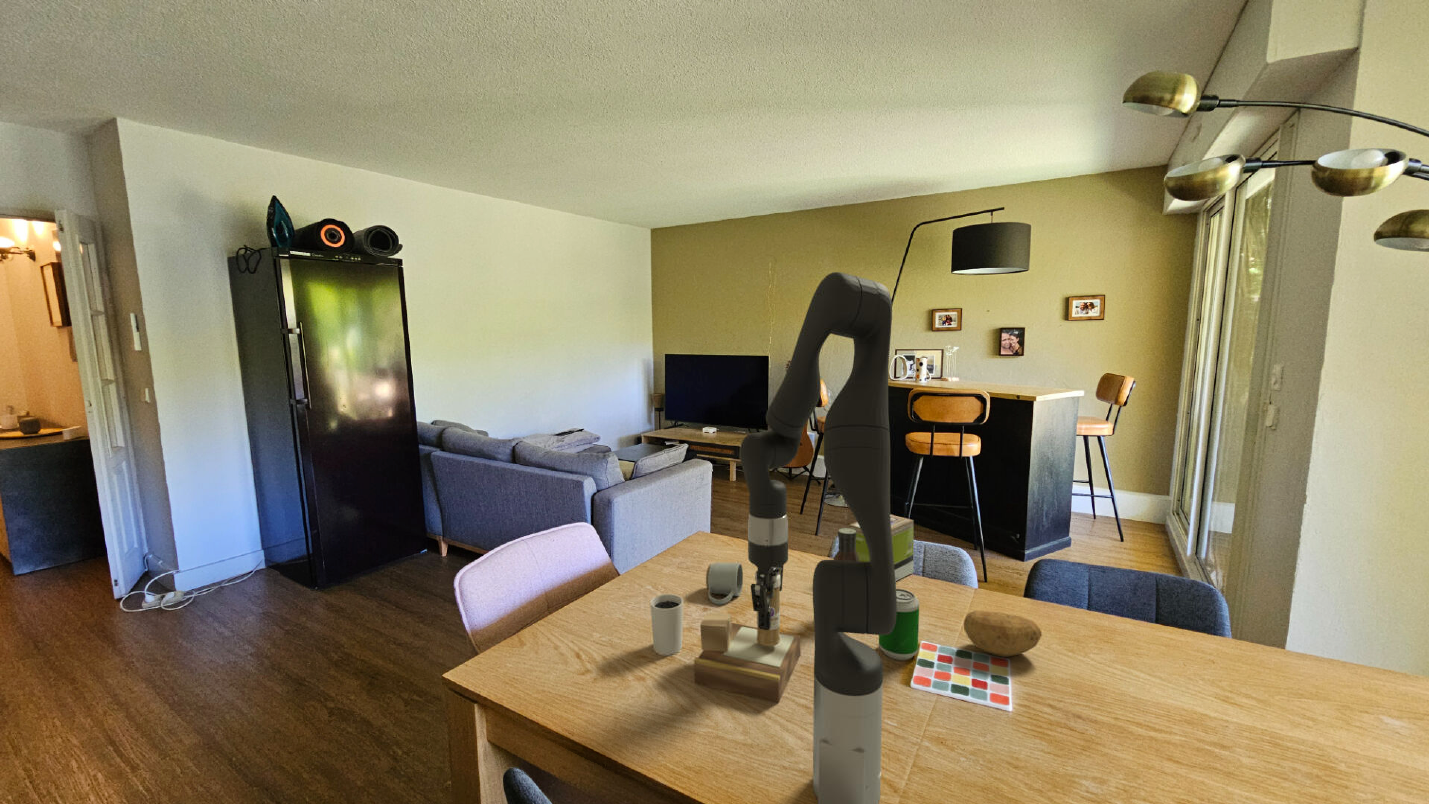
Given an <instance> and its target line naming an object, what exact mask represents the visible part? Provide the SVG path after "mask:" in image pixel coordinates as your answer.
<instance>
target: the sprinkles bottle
mask: <svg viewBox="0 0 1429 804" xmlns="http://www.w3.org/2000/svg"><path fill="white" fill-rule="evenodd" d="M779 587H780V574H777V579H776V583H775V594H774V598H773V599H772V600H771V627H770V629H769V630H763V629H759V627H758V612H757V611H756V628H757V642H758V643H759V644H761V645H763V646H775V645H777V644H778V643H779V642H780V637H779V632H780V626H781V625H780V624H781V621H780V620H781V617H780V616H781V610H780V609H781V603H780V602H781V601H780V596H779V594H780V591H779ZM766 594H770V591H766ZM761 604H762V603H761Z"/></svg>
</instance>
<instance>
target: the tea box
mask: <svg viewBox="0 0 1429 804" xmlns="http://www.w3.org/2000/svg"><path fill="white" fill-rule="evenodd" d="M890 519H891V533H892V546H893V558H894V569H895V581H896V582H897V581H899V580H901V579H903V578H905V577H906V576H907V577H908V576H909V575H911V574H913V573H914V549H915V548H914V542H915V541H914V534H915V533H914V519H910V518H906V517H901V516H897V515H894V514H890ZM849 528H850V529H853V530H855V531H856V535H857V537H856V552H857V555H858V558H859V560H860V561H862V562H869V561H870V557H869V551H868V547H867V544H866V540H865V537H864V535H863V533H862V530H861V528H860V526H859V524H858V522H857V521H856V522H853V523H850V524H849Z"/></svg>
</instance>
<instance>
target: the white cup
mask: <svg viewBox="0 0 1429 804" xmlns="http://www.w3.org/2000/svg"><path fill="white" fill-rule="evenodd" d="M649 603H650V615H651V618H650V619H651V629H652V642H653V643H652V644H653V651H654V650H655V651H656V652H657V653H660V654H662V655H661V656H672V655H671V654H674V655H675V653H676V654H678V653H679V652H680V651H682V649H681V648H683V629H684V628H683V626H684V625H683V621H684V619H683V618H684V599H683V597H682V596H679V595H677V594H673V593H665V594H663V593H662V594H659V595H655V596H654V597H653V598H651V600H650V602H649ZM655 651H654V652H655ZM656 652H655V653H656ZM677 652H678V653H677ZM657 653H656V654H657ZM660 654H659V655H660Z"/></svg>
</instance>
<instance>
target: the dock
mask: <svg viewBox="0 0 1429 804" xmlns="http://www.w3.org/2000/svg"><path fill="white" fill-rule="evenodd" d="M732 633H733V639H732V642H731V644H730V647H729V649H728V652H722V651H708V650H702V652H701V653H700V655H699V656H698V657H695V658H694V659H693V666H694V667H693V668H694V669H693V670H694V672H693V673H694V684H696V683H697V685H700V684H701V686H706V687H709V688H714V689H718V690H722V691H726V692H731V693H734V694H739V695H743V696H747V697H751V698H756V699H761V700H765V701H769V702H773V703H777V704H779V703H780V702H781V698H782V696H783V694H784V692H785V691H786V687H787V685H788V683H789V681H790V678H791V677H792V675H793V672H794V671H795V668H796V666H797V663H798V661H799V660H800V657H801V652H802V651H801V644H802V643H801V641H802V640H801V635H799V634H798V635H797V634H792V633H789V632H788V633H786V632H781V631H779V637H780V642H779V643H778V644H777V645H775V646H763V645H761V644H759V643H758V642H757V626H756V627H755V626H749V625H744V624H739V623H733V622H732Z"/></svg>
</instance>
